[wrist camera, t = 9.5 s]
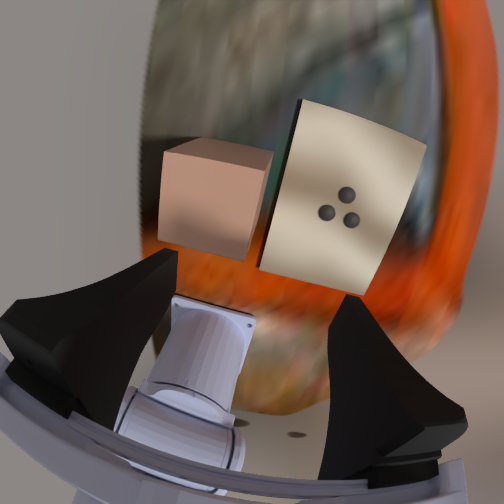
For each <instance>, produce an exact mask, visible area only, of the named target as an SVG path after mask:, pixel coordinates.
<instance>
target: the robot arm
mask: <svg viewBox="0 0 504 504" xmlns="http://www.w3.org/2000/svg"><path fill="white" fill-rule="evenodd" d="M177 263H178V251H174V250H171V249H167V248H164V249H162V250H160V251H158V252H156V253H154V254H153V255H151V256H149V257H147V258H145V259H144V260H142V261H140V262H138V263H137V264H134V265H133V266H131V267H129V268H127V269H125V270H123V271H121V272H118V273H116V274H114V275H112V276H110V277H108V278H106V279H103V280H101V281H98V282H96V283H93V284H90V285H88V286H85V287H81V288H78V289H75V290H72V291H68V292H64V293H60V294H56V295H50V296H45V297H38V298H29V299H20V300H16V301H15V302H14V303H13V305H12V306H11V307H10V308H9V309H8V310H7V311H6V312H5V313H4V314H3V315H2V316H1V317H0V334H1V336H2V338H3V340H4V341H5V343H6V345H7V347H8V348H9V350H10V352H11V353H12V355H13V356H14V359H13V361H12V362H11V363H10V361H8V359H7V358H6V357H5V356H4V355H3V354H1V353H0V430H1V431H2V432H3V433H4V434H5V435H6V436H7V437H9V438H10V439H11V440H12V441H13V442H14V443H15V444H16V445H17V446H19V447H20V448H21V449H22V450H23V451H25V452H26V453H27V454H28V455H30V456H31V457H32V458H33V459H35V460H36V461H37V462H38V463H40V464H41V465H43V466H44V467H45V468H47V469H48V470H50V471H51V472H52V473H54V474H55V475H57V476H58V477H60V478H61V479H63V480H64V481H66V482H67V483H69V484H70V485H72V486H74V487H75V488H77V489H78V490H77V492H76V495H75V497H74V500H73V502H72V504H270V503H262V502H254V501H249V500H243V499H237V498H230V497H226V496H224V495H225V494H226V492H227V491H233V492H239V493H245V494H251V495H259V496H267V497H277V498H290V499H312V500H301V501H300V502H299V503H296V504H468V496H467V487H466V479H465V472H464V465H463V459H462V458H460V459H456V460H452V461H448V462H445V463H442V464H439V465H438V461H437V459H439V458H441V456H442V454H441V449H443V448H444V447H446V446H447V445H449V444H450V443H452V442H453V441H454V440H456V439H458V438H459V437H460V436H461V435H462V434H463V433H464V432H465V431H466V430H467V428H468V423H467V419H466V415H465V411H464V408H463V407H461V406H460V405H458V404H456V403H455V402H453V401H452V400H450V399H449V398H447V397H446V396H445V395H443V394H442V393H441V392H439V391H438V390H437V389H436V388H435V387H433V386H432V385H431V384H430V383H429V382H427V381H426V380H425V379H424V378H423V377H422V376H421V375H420V374H419V373H418V372H417V371H416V370H415V369H414V368H413V367H412V366H411V365H410V364H409V362H408V361H407V360H406V359H405V358H404V357H403V356H402V355H401V353H400V352H399V351H398V350H397V349H396V347H395V346H394V345H393V343H392V342H391V341H390V340H389V338H388V337H387V335H386V334H385V333H384V331H383V330H382V329H381V327H380V326H379V324H378V323H377V321H376V320H375V319H374V317H373V316H372V314H371V313H370V311H369V310H368V309H367V307H366V306H365V304H364V303H363V302H362V300H361V299H360V298H359V297H356V296H352V295H347V294H346V296H345V298H344V300H343V302H342V303H341V305H340V307H339V309H338V311H337V313H336V315H335V317H334V319H333V321H332V322H331V324H330V326H329V329H328V347H327V349H328V364H329V378H330V412H329V422H328V430H327V438H326V443H325V449H324V455H323V459H322V463H321V468H320V472H319V476H318V480H305V479H290V478H280V477H271V476H263V475H257V474H250V473H244V472H240V471H241V469H242V465H243V461H244V457H245V441H244V438H243V436H242V433H241V431H240V430H239V429H238V428H236V427H233V423H234V419H235V416H234V415H232V414H230V413H229V412H230V407H231V403H232V399H233V395H234V390H235V386H236V381H237V377H238V374H240V371H241V368H242V365H243V362H244V359H245V356H246V353H247V350H248V347H249V344H250V341H251V338H252V334H253V331H254V328H255V325H256V321H257V319H256V317H254V316H252V315H248V314H244V313H240V312H236V311H232V310H228V309H225V308H221V307H217V306H214V305H210V304H206V303H203V302H199V301H196V300H192V299H189V298H185V297H182V296H179V295H174V293H175V291H176V281H177ZM173 295H174V296H173ZM170 302H171V332H170V334H169V336H168V338H167V340H166V342H165V344H164V346H163V348H162V350H161V352H160V354H159V356H158V358H157V360H156V362H155V364H154V366H153V368H152V370H151V373H150V375H149V377H148V379H147V380H145V379H144V380H143V382H142V384H141V386H140V388H139V390H138V389H137V388H135V387H133V386H130V387H128V388H127V386H128V384H129V381H130V378H131V376H132V373H133V371H134V368H135V366H136V364H137V362H138V359H139V357H140V355H141V353H142V351H143V349H144V347H145V345H146V343H147V341H148V340H149V338H150V337H151V335H152V333H153V332H154V330H155V328H156V327H157V325H158V324H159V322H160V320H161V319H162V317H163V315H164V314H165V312H166V310H167V309H168V307H169V304H170ZM177 304H178V305H177ZM249 324H251V325H249Z"/></svg>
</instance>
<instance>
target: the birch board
mask: <svg viewBox="0 0 504 504" xmlns="http://www.w3.org/2000/svg"><path fill="white" fill-rule="evenodd" d="M426 147H427V145H425V144H423V143H421V142H419V141H417V140H415V139H412V138H410V137H408V136H406V135H404V134H401V133H399V132H397V131H394V130H392V129H390V128H387V127H385V126H382V125H380V124H377V123H375V122H372V121H369V120H367V119H364V118H361V117H358V116H356V115H353V114H350V113H347V112H344V111H341V110H338V109H334V108H331V107H328V106H325V105H321V104H318V103H314V102H311V101H307V100H303V101H302V105H301V109H300V113H299V117H298V121H297V125H296V129H295V133H294V137H293V141H292V145H291V149H290V153H289V157H288V161H287V165H286V169H285V173H284V176H283V180H282V184H281V188H280V192H279V196H278V200H277V203H276V207H275V211H274V215H273V219H272V222H271V226H270V230H269V234H268V238H267V241H266V245H265V249H264V253H263V256H262V260H261V264H260V268H259V270H262V271H266V272H270V273H274V274H278V275H282V276H286V277H290V278H294V279H298V280H302V281H306V282H310V283H314V284H318V285H322V286H326V287H330V288H334V289H338V290H343V291H347V292H351V293H355V294H359V295H364V294H365V292H366V290H367V288H368V286H369V284H370V282H371V280H372V278H373V276H374V274H375V272H376V270H377V268H378V266H379V264H380V262H381V260H382V258H383V256H384V254H385V252H386V250H387V248H388V245H389V243H390V241H391V239H392V237H393V234H394V232H395V230H396V227H397V225H398V223H399V220H400V218H401V216H402V213H403V211H404V208H405V206H406V203H407V201H408V198H409V196H410V193H411V190H412V188H413V185H414V182H415V179H416V177H417V174H418V171H419V168H420V165H421V162H422V159H423V156H424V153H425V150H426Z"/></svg>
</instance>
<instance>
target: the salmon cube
mask: <svg viewBox="0 0 504 504" xmlns="http://www.w3.org/2000/svg"><path fill="white" fill-rule="evenodd" d="M273 154H274V151H269V150H265V149H261V148H256V147H252V146H247V145H242V144H238V143H233V142H227V141H222V140H217V139H211V138H205V137H200V138H198V139H195V140H192V141H189V142H187V143H184V144H181V145H179V146H176V147H174V148H171V149H169V150H166V151H164V157H163V166H162V177H161V189H160V203H159V221H158V240H161V241H165V242H169V243H173V244H176V245H180V246H184V247H188V248H192V249H195V250H199V251H203V252H207V253H211V254H215V255H219V256H222V257H226V258H230V259H234V260H238V261H242V262H244V261H245V258H246V255H247V252H248V249H249V246H250V243H251V239H252V236H253V233H254V230H255V227H256V224H257V221H258V218H259V213H260V209H261V205H262V201H263V196H264V192H265V188H266V184H267V179H268V175H269V171H270V167H271V163H272V158H273Z"/></svg>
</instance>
